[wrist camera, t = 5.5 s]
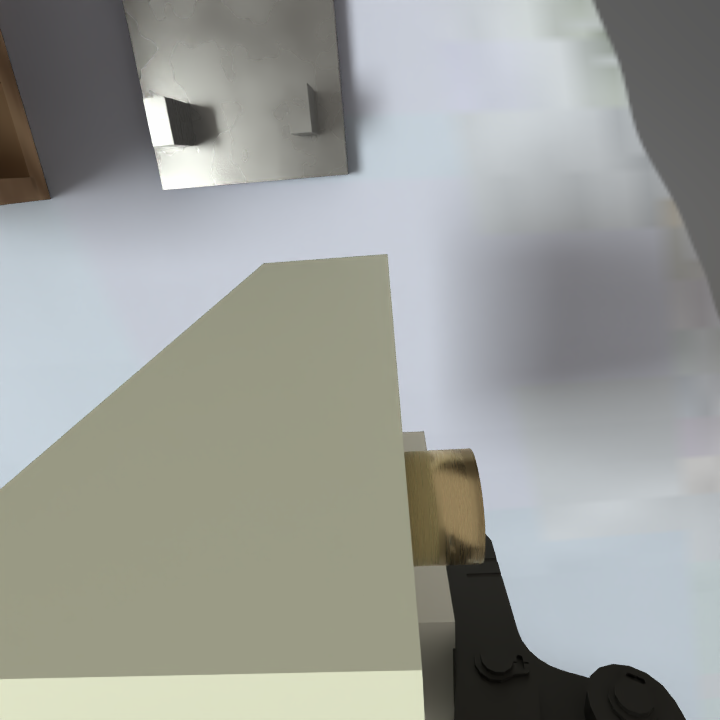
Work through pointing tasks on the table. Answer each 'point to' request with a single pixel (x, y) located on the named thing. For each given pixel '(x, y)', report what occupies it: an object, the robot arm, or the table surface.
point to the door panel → (237, 523)
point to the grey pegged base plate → (240, 89)
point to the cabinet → (16, 143)
